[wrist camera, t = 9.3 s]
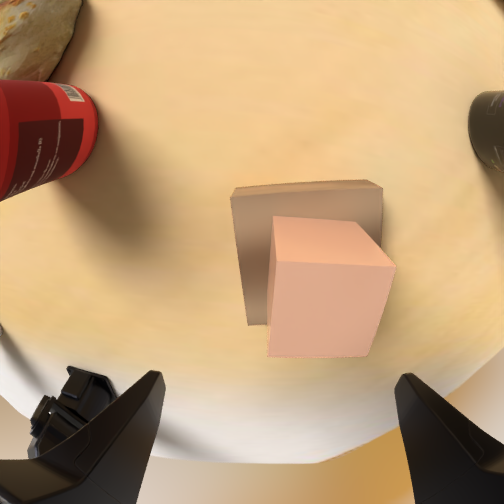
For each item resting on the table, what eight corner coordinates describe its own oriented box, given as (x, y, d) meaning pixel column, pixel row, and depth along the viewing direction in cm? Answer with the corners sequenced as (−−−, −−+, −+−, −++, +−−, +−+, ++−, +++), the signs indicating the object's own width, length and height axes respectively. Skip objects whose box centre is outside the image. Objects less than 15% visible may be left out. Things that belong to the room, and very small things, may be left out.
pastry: (82, -34, 10) (34, -61, 3) (100, 49, 14) (32, 27, 7) (-9, 51, 12) (-59, 50, 5) (2, 137, 17) (-57, 152, 10)
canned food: (35, 96, 15) (-63, 104, 5) (104, 76, 15) (-8, 57, 5) (35, 179, 19) (-59, 219, 8) (102, 173, 18) (-8, 218, 8)
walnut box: (360, 289, 22) (372, 314, 18) (250, 298, 22) (247, 325, 19) (364, 178, 18) (382, 187, 15) (236, 186, 19) (230, 197, 16)
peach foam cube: (341, 293, 18) (367, 356, 12) (267, 291, 18) (267, 356, 12) (355, 221, 16) (396, 266, 10) (272, 215, 16) (276, 260, 10)
